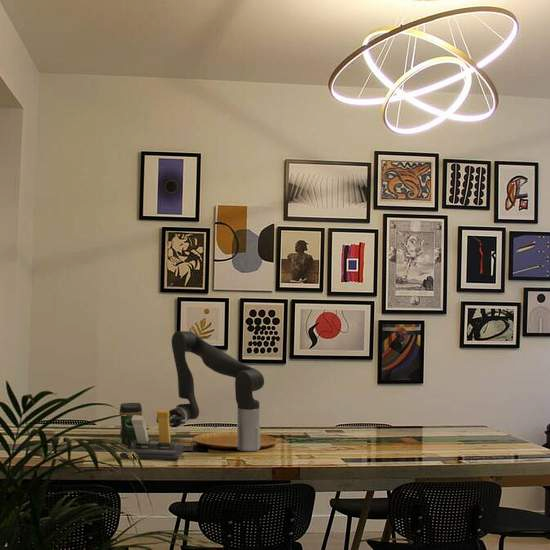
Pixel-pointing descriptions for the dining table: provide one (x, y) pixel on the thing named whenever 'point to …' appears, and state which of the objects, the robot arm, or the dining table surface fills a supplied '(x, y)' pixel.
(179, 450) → the breaker panel
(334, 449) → the dining table surface
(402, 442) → the dining table surface
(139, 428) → the lever
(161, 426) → the breaker lever
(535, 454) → the dining table surface
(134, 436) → the coffee jar
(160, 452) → the grey flat bar
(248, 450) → the robot arm
